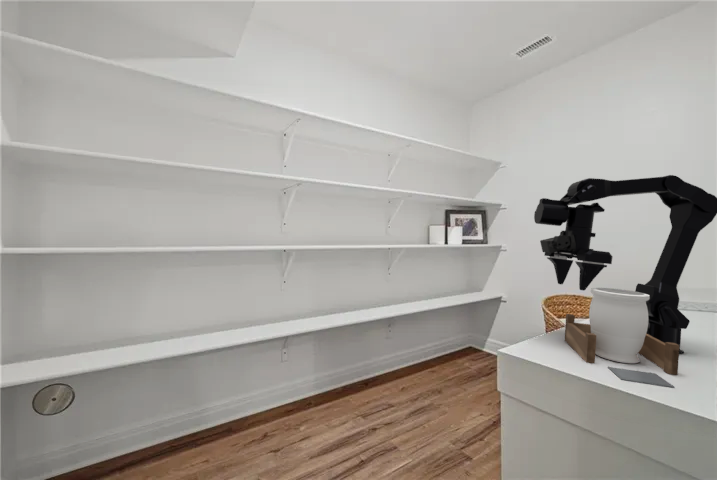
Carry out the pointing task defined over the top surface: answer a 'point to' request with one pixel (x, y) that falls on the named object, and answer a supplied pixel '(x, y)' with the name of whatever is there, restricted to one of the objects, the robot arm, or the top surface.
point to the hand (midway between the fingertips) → (570, 287)
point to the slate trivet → (640, 377)
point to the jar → (618, 323)
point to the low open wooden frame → (651, 349)
